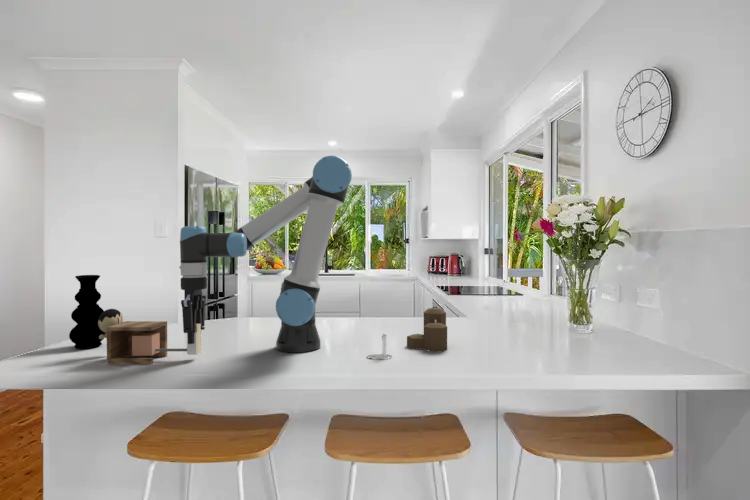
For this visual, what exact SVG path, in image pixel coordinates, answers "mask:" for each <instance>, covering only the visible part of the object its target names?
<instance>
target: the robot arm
mask: <svg viewBox="0 0 750 500" xmlns="http://www.w3.org/2000/svg"><path fill="white" fill-rule="evenodd" d="M352 176H353V174H352V169H351V168H350V165H349V163H348V162H347V161H346V160H345V159H344V158H342V157H340V156H337V155H327V156H326V155H325V156H324V157H322V158H321V159H319V160H318V161H317V162H316V163H315V165H314V167H313V169H312V176H311V177H310V178H309V179H308V180H306V181H304V183H303V186H302V187H301V188H299V189H298V190H296V191H295V192H293V193H291V194H290V195H288V196H286V197H285V198H284V199H282V200H280V202H277V203H276V204H275V205H273V206H272V207H269V209H268V208H267V210H266V211H264V212H262V213H261V214H259V215H257V217H255V218H253V219H252V220H250V221H249V222H247V223H246V224H244V225H243V226H241V227H240V228H238V229H236V230H235V231H232V232H208V231H207V227H206V226H202V225H201V226H200V225H199V226H193V225H192V226H191V225H188V226H186V225H185V226H183V227H181V228H180V233H179V234H180V235H179V236H180V238H179V246H180V247H179V249H180V254H179V255H180V265H179V267H178V268H179V269H180V276H182V277H181V278H180V290H182V291H185V295H184V296H185V297H184V299H182V300H181V301H180V305H181V312H182V324H183V325H182V328H183V333H184V334H186V338H187V340H186V343H187V345H186V346H187V347H186V349H187V351H186V352H187V355H188V354H197V332H195V331H196V324H201V331H202V330H205V322H206V319H205V317H206V316H205V313H206V312H205V311H206V299H207V296H206V295H203V290H206V289H207V287H208V279H207V277H206V276H207V275H208V262H207V258H239V257H245V256H246V255H247V252H248V250H250V249H251V248H252V247H254V246H256V245H257V244H258V243H260V242H262V241H263V240H265V239H267V238H268V237H269V236H271V235H272V234H274V233H275V232H277V231H279V230H280V229H281V228H283V227H285V226H286V225H288V224H289V223H291V222H292V221H294V220H296V219H297V218H299V217H300V216H302V215H303V214H304V213H306V212H307V214H306V217H305V222H304V225H303V228H302V232H301V235H300V239H299V243H298V247H297V250H296V253H295V258H294V261H293V265H292V268H291V271H290V274H288V275H286V276H285V277H284V278H283V281H282V283H281V287H280V293H279V296H278V298H277V299H276V301H275V311H276V312H275V313H276V315H277V316H278V318H279V320H280V321H281V323H280V324H281V325H280V330H279V332H278V335H277V338H276V342H275V344H276V345H275V349H276V350H277V351H279V352H283V351H284V353H306V351H307V352H312V351H311V350H313V351H316V350H315V349H317V350H319V349H320V348H321V338H320V335H319V331H318V328H317V326H316V306H317V305H316V304H317V300H318V298H319V293H320V290H321V285H320V283H319V282H318V279H319V276H320V272H321V269H322V264H323V262H324V258H325V254H326V251H327V248H328V247H327V246H328V242H329V239H330V237H331V232H332V229H333V225H334V221H335V219H336V218H335V217H336V215H337V210H338V208H340V207H342V206H343V205H344V204H345V199H346V196H347V194H348V189H349V186H350V184H351V182H352ZM202 334H203V333H201V352H202V351H203V350H202V347H203V346H202V345H203V344H202V341H203V339H202V338H203V337H202ZM318 348H319V349H318ZM197 355H198V354H197Z"/></svg>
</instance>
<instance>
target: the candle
mask: <svg viewBox="0 0 750 500" xmlns="http://www.w3.org/2000/svg"><path fill="white" fill-rule="evenodd" d="M407 346H408V348H411V349H412V348H414V349H415V350H417V349H418V350H425V351H428V350H429V351H428V352H438V351H442V352H444V350H445V351H446V350H448V326H447V312H446V311H445V310H444V309H443V308H440V307H437V306H436V303H435V302H434V303H433V307H429V308H427V309H425V310H424V311H423V334H422V333H414V334H410V335H407V336H406V347H407ZM416 348H417V349H416ZM419 348H420V349H419ZM414 349H413V350H414Z"/></svg>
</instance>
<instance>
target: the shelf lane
mask: <svg viewBox="0 0 750 500" xmlns="http://www.w3.org/2000/svg"><path fill="white" fill-rule="evenodd" d="M139 333H160V349H168V321H166V320H164V321H160V320H159V321H154V320H153V321H148V320H147V321H143V320H141V321H140V320H139V321H136V320H135V321H130V320H129V321H123V322H122V323H119V324H116V325H112V326H109V327H107V338H106V364H107V365H152V364H154V358H155V357H156V358H157V357H168V351H160V352H158V353H156V354H154V355H152V356H132V336H133V335H136V334H139ZM153 357H154V358H153Z"/></svg>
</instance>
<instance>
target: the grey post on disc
mask: <svg viewBox="0 0 750 500" xmlns="http://www.w3.org/2000/svg"><path fill="white" fill-rule="evenodd" d="M381 340H382V344H381V346H382V351H381V352H382V353H380V354H377V353H376V354H374V353H373V354H368V355H367V356H366V358H367V357H369V358H373V359H372V360H374V359H376V360H390V359H389V358H391V359H393V355H391V354H387V333H382V335H381Z"/></svg>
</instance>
